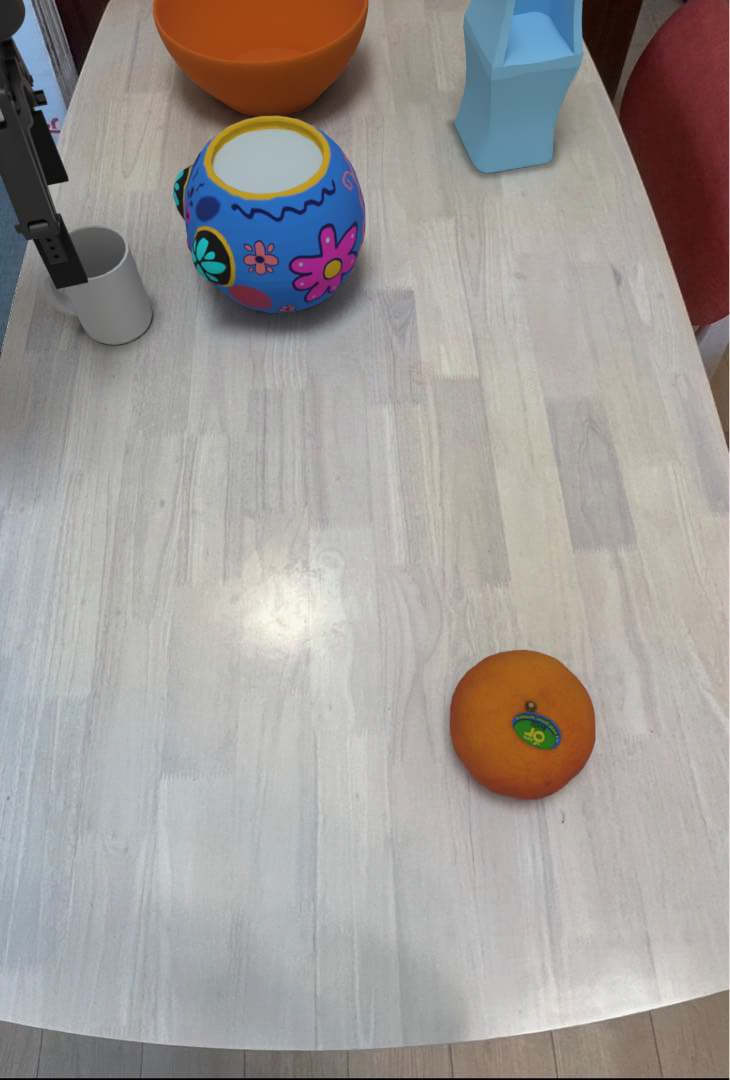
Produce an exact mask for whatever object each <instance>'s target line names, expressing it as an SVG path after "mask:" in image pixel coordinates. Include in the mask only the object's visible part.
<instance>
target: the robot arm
mask: <svg viewBox="0 0 730 1080" xmlns="http://www.w3.org/2000/svg"><path fill="white" fill-rule="evenodd" d="M25 19H26V6H25V2H24V0H0V177H1V180H2V182H3V185H4V187H5V191H6V192H7V195H8V197H9V200H10V203H11V205H12V208H13V210H14V213H15V216H16V218H17V222H18V224H14V225H13V227H14V229H15V232H16V233H17V234H18V235H19V234H22V236H23V237H24V239H25V240H26V241H31V240H32V242H33V244H34V245H35V248H36V250H37V253H38V254H39V256H40V258H41V260H42V263H44V264H45V266H46V268H47V271H48V273H49V275H50V277H51V279H52V281H53V283H54V285H55V287H56V289H58V290H61V289H64V288H66V287H70V286H75V285H80V284H84V283H88V278H87V275H86V272H85V270H84V268H83V265H82V263H81V261H80V258H79V256H78V254H77V251H76V249H75V247H74V244H73V242H72V240H71V237H70V235H69V233H70V232H69V231H68V228H67V225H66V224H65V223H66V222H65V221H64V218H63V217H62V213H61V212H59V213H57V210H56V207H55V203H54V201H53V197H52V194H51V192H50V191H51V190H50V188H49V186H53V185H57V184H63V183H68V182H69V181H70V179H69V174H68V173H67V171H66V168H65V165H64V163H63V160H62V157H61V155H60V153H59V150H58V148H57V145H56V142H55V139H54V137H53V135H52V132H51V130H50V127H49V124H48V122H47V120H46V117H45V114H44V111H43V109H38V110H36V108H38V107H44V106H48V104H49V103H48V99H47V96H46V94H45V91H44V89H37V90H34V89H33V88H34V86H35V85H34V82H35V80H34V78H33V75H31V73H30V71H29V69H28V66H27V65H26V63H25V61H24V59H23V57H22V55H21V52H20V50H19V49H18V46H17V44H16V42H15V40H14V38H13V36H14V35H16V33H18V31H19V30H20V29H21V27H22V26H23V24H24V22H25Z"/></svg>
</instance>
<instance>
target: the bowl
mask: <svg viewBox="0 0 730 1080" xmlns="http://www.w3.org/2000/svg"><path fill="white" fill-rule="evenodd" d="M368 13H369V0H153V2H152V17H153V21H154V24H155V28H156V30H157V33H158V35H159V38H160V39H161V41H162V44H163V46H164V47H165V49H166V51H167V52H168V53H169V55H170V57H171V58H172V59H173V61H174V62H175V63H176V64H177V66H178V67H179V69H181V70H182V71H183V72H184V74H186V75H187V76H188V77H189V78H190V80H191V81H192V82H194V83H195V84H196V85H197V86H199V88H201V89H202V90H203V91H205V92H206V93H208V94H209V95H211V96H212V97H213V98H215V99H217V100H219V101H220V102H222V103H223V104H225V105H226V106H227V107H229V108H230V109H232V110H234V111H236V112H238V113H240V114H242V115H243V114H244V115H247V116H250V117H260V116H283V117H285V116H288V115H291V114H295V113H298V112H300V111H302V110H304V109H306V108H309V106H311V105H312V104H313V103H314V102H316V101H317V100H318V99H319V98H320V96H322V94H323V93H324V92H325V91H326V90H327V89H328V88H329V87H330V86H331V85H332V84H333V83H334V82H335V81H337V79H338V78H339V76H340V75H341V74H342V72H343V71H345V69H346V67H347V66H348V65H349V62H350V61H351V59H352V58H353V56H354V54H355V52H356V51H357V49H358V47H359V45H360V42H361V39H362V36H363V34H364V31H365V27H366V23H367V19H368Z"/></svg>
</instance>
